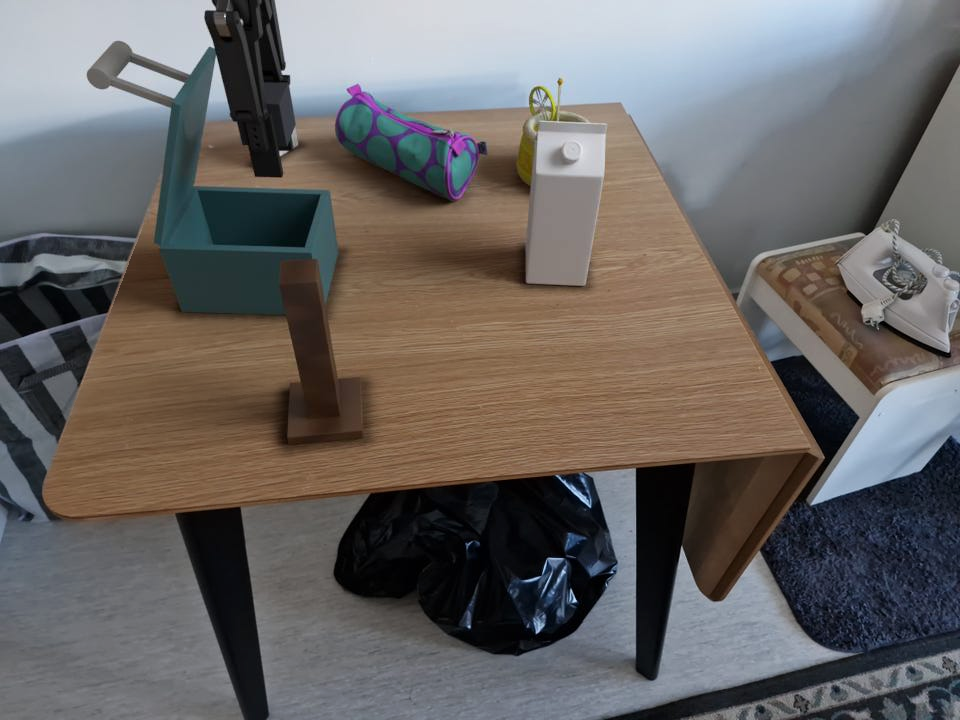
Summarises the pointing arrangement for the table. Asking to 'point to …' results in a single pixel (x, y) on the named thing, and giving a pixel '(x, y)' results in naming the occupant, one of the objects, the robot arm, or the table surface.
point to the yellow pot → (531, 129)
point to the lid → (182, 124)
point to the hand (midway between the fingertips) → (274, 161)
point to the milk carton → (564, 201)
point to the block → (277, 112)
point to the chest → (246, 246)
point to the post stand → (316, 363)
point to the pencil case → (408, 145)
